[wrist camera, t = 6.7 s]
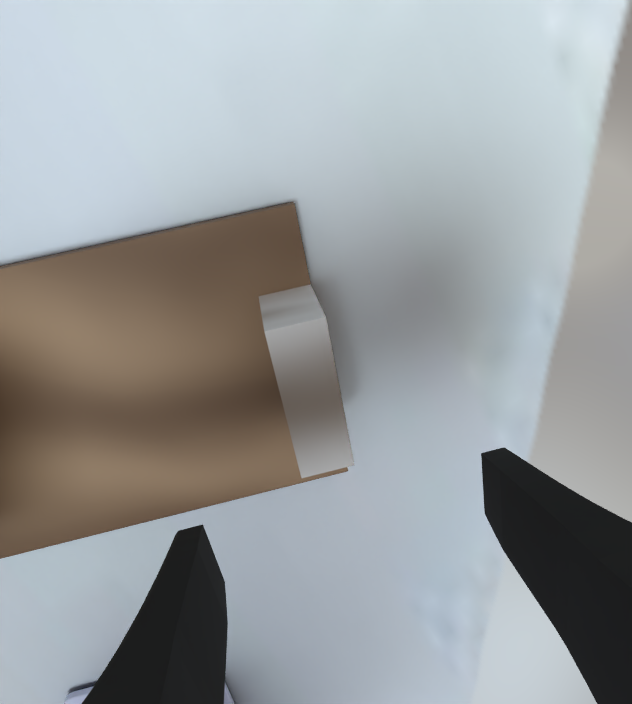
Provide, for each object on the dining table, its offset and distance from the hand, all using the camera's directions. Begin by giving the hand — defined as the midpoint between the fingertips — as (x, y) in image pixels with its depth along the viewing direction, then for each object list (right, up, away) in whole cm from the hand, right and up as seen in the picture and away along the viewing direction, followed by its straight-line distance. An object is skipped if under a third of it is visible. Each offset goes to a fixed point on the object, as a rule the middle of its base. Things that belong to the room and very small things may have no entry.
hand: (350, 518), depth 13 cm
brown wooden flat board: (-11, +2, +8) cm, 14 cm away
